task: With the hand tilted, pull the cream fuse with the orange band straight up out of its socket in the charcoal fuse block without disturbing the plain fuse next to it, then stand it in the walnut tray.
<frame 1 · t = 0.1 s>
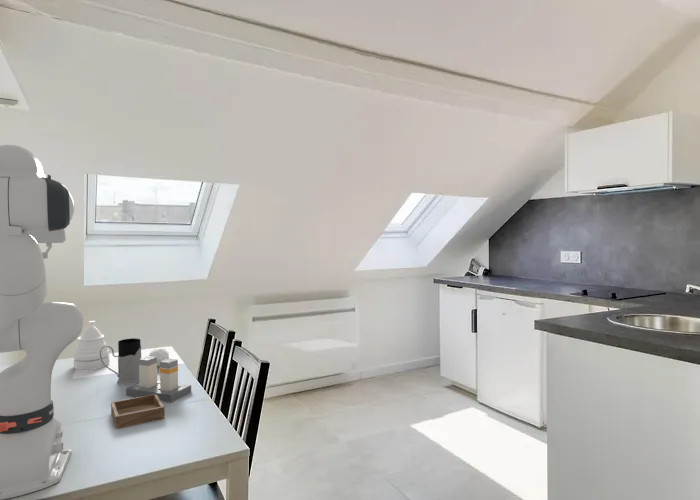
hand: (25, 259, 132), 48 cm above the table, tool pointing down, fingers open, 8 cm apart
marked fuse: (169, 395, 154), resting in fuse block
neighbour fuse: (148, 392, 157), resting in fuse block
grey mug: (122, 381, 168), on the table
honey pot: (92, 365, 188), on the table
tray: (137, 415, 137), on the table
ball: (158, 366, 186), on the table
fuse block: (158, 393, 155), on the table
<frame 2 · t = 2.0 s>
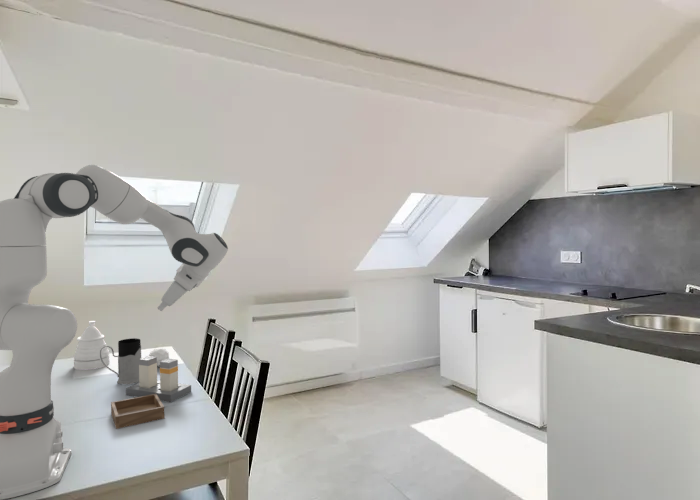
hand: (163, 304, 152), 31 cm above the table, tool tilted 45°, fingers open, 8 cm apart
nothing on the table moved.
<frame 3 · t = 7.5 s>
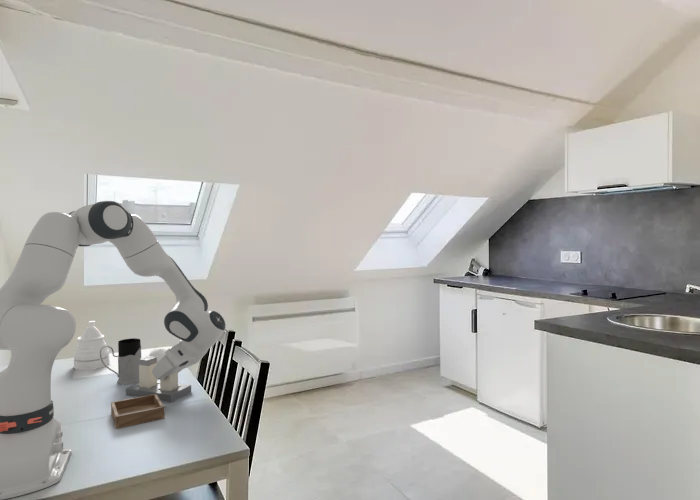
hand: (167, 376, 154), 7 cm above the table, tool tilted 45°, fingers closed on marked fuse, 4 cm apart
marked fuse: (169, 395, 154), resting in fuse block, touching gripper
everything else where it was.
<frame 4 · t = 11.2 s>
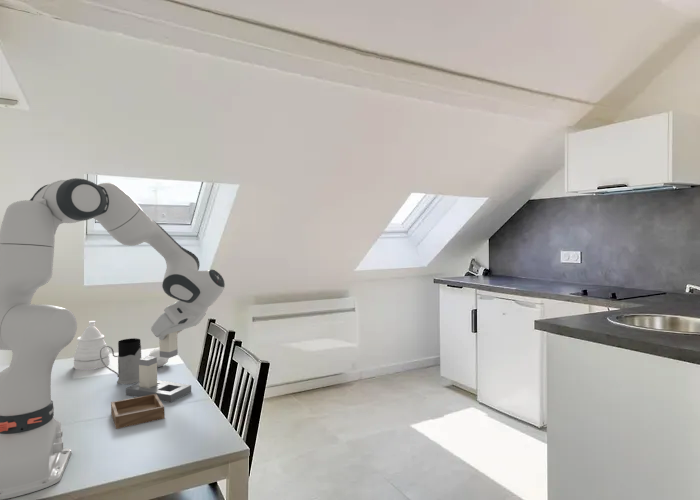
hand: (166, 336, 153), 20 cm above the table, tool tilted 45°, fingers closed on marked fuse, 4 cm apart
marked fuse: (168, 355, 153), point 14 cm above the table, touching gripper
everything else where it was.
when the fingers open (9 cm above the table, at t = 15.3 s): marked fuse drops 1 cm, resting on tray.
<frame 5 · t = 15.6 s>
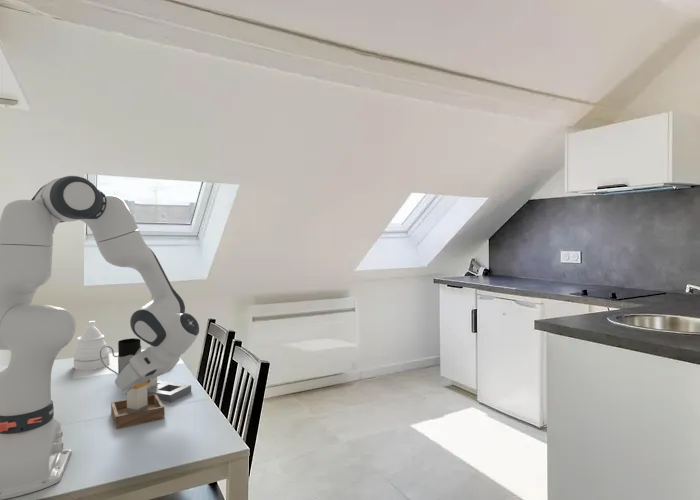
hand: (135, 386, 137), 9 cm above the table, tool tilted 45°, fingers open, 7 cm apart
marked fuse: (137, 412, 137), point 1 cm above the table, touching tray
everything else where it was.
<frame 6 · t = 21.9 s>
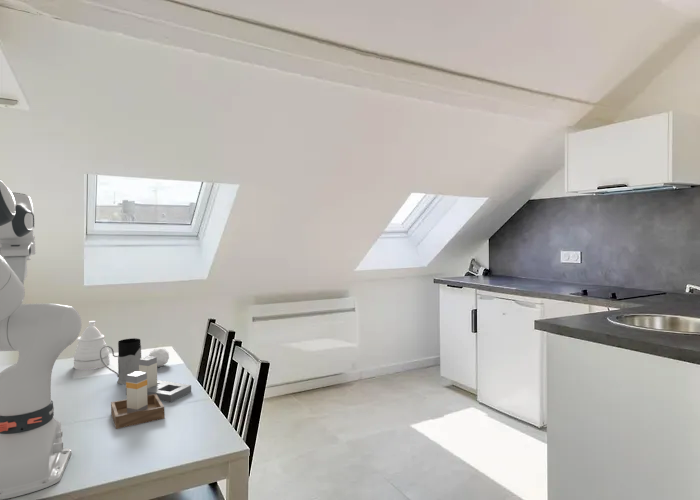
hand: (18, 295, 133), 37 cm above the table, tool pointing down, fingers open, 8 cm apart
nothing on the table moved.
at the end: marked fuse inside the target area on the tray (0.1 cm from its centre), point 1.0 cm above the tray's base; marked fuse tilted 0°; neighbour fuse moved 0.0 cm from its start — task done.
